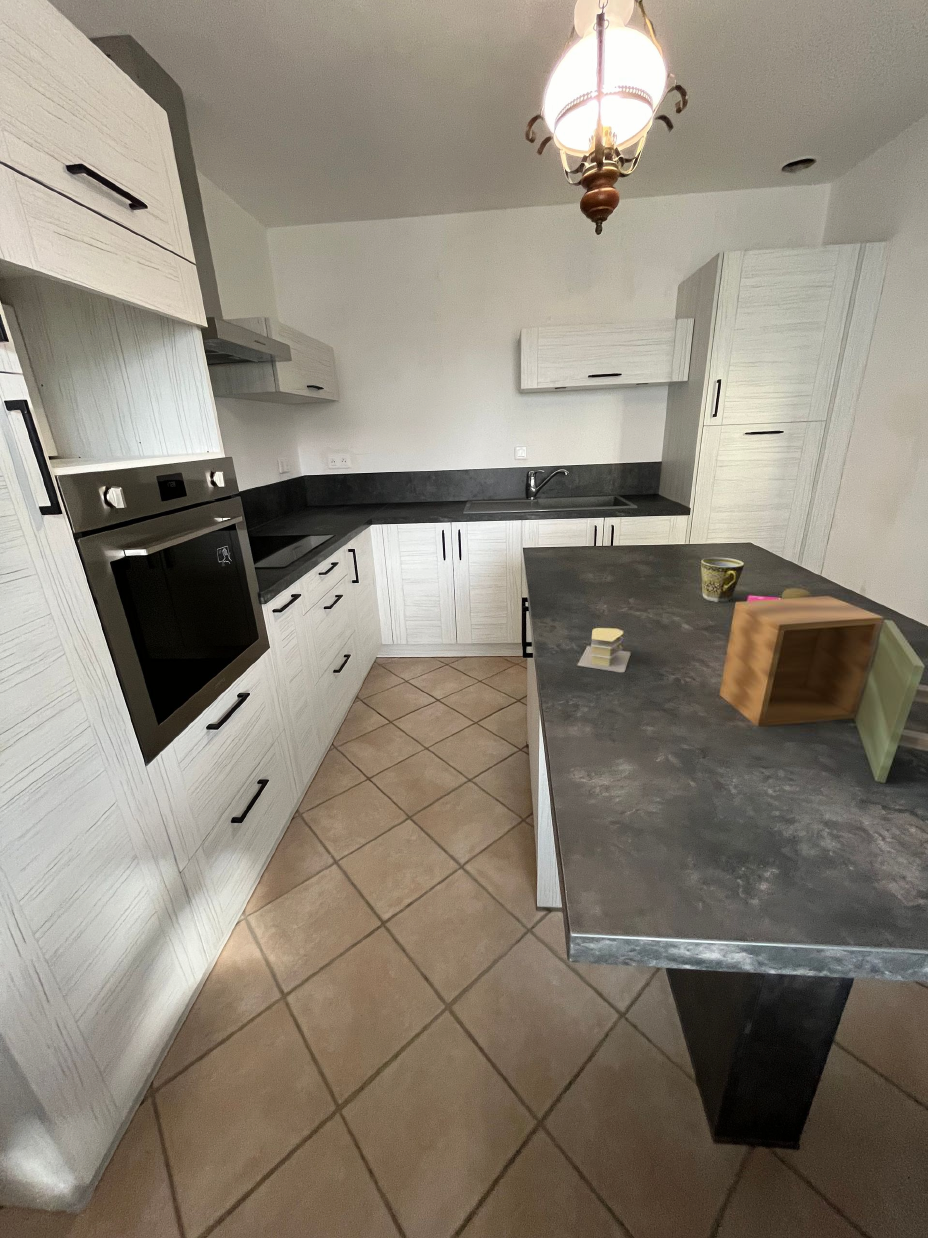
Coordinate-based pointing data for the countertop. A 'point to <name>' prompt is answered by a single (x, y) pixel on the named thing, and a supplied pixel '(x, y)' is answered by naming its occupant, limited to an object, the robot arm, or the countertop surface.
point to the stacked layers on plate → (605, 651)
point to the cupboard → (798, 659)
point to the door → (890, 701)
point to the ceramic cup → (720, 578)
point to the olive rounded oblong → (795, 593)
